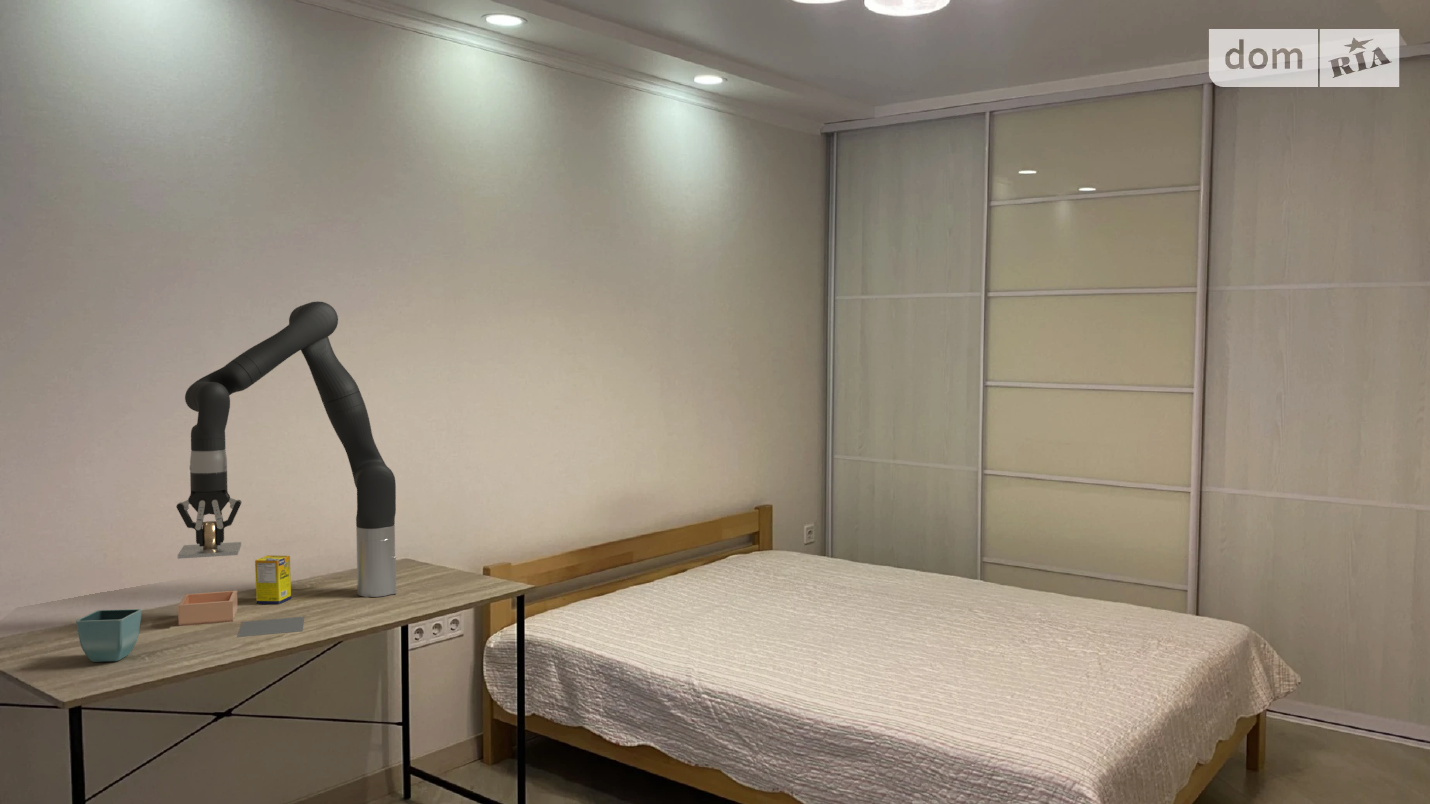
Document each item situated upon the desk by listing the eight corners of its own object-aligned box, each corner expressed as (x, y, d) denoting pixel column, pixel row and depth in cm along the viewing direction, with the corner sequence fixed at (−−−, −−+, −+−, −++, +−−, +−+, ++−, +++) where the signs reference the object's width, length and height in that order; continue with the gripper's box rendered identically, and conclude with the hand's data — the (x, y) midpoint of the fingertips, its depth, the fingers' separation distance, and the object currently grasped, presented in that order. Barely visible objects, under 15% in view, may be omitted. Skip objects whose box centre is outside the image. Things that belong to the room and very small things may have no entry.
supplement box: (291, 598, 255) (290, 555, 254) (279, 604, 249) (278, 560, 248) (268, 598, 256) (267, 554, 255) (255, 604, 250) (254, 559, 249)
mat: (304, 618, 237) (304, 616, 237) (302, 632, 224) (302, 631, 224) (242, 623, 232) (242, 621, 232) (237, 638, 220) (237, 636, 220)
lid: (241, 545, 242) (240, 516, 241) (237, 555, 230) (237, 524, 230) (184, 548, 237) (183, 519, 237) (177, 558, 226) (177, 527, 226)
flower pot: (99, 652, 210) (97, 609, 210) (144, 651, 211) (142, 608, 210) (76, 666, 201) (74, 620, 201) (123, 664, 202) (121, 619, 202)
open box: (237, 611, 243) (237, 590, 242) (233, 623, 232) (232, 601, 232) (185, 615, 239) (185, 594, 239) (178, 627, 229) (178, 605, 228)
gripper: (243, 466, 239) (245, 540, 240) (176, 469, 234) (177, 544, 235) (241, 470, 232) (243, 546, 233) (171, 472, 227) (173, 550, 228)
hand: (210, 545), depth 234 cm, fingers closed on lid, 3 cm apart
